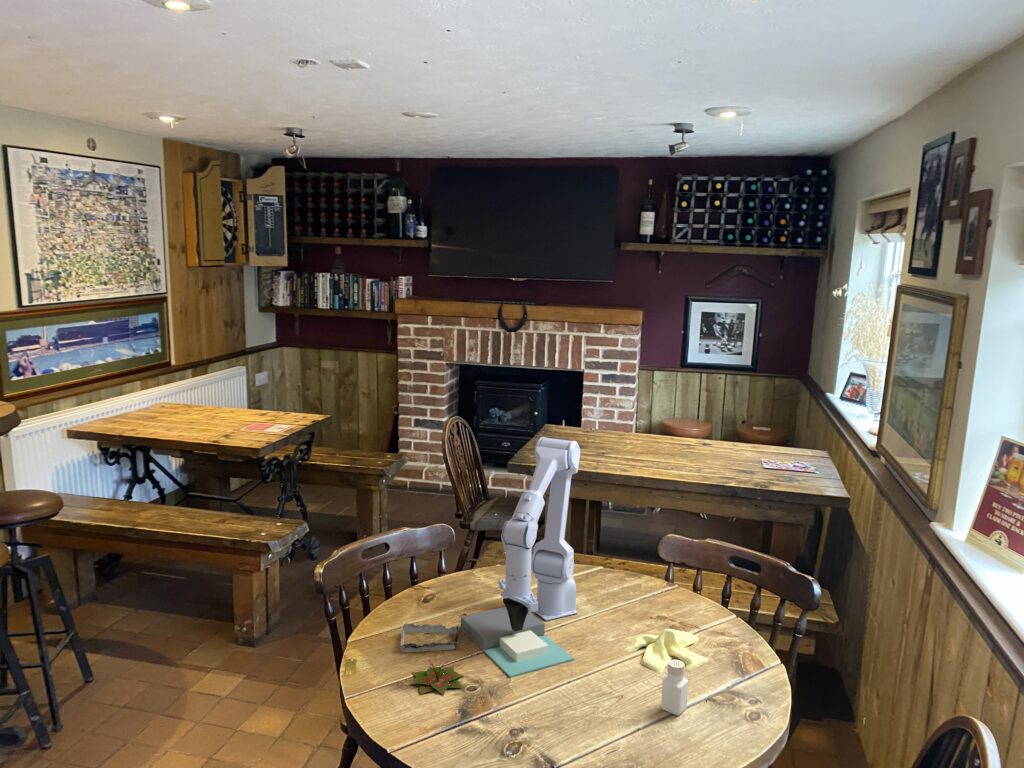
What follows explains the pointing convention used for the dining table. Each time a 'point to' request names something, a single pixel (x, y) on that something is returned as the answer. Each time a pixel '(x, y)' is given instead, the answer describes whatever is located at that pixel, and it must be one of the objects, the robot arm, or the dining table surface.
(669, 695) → the pepper shaker
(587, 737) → the dining table surface
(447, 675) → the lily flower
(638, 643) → the cloth
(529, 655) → the coaster
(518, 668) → the drip mat
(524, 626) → the riser
